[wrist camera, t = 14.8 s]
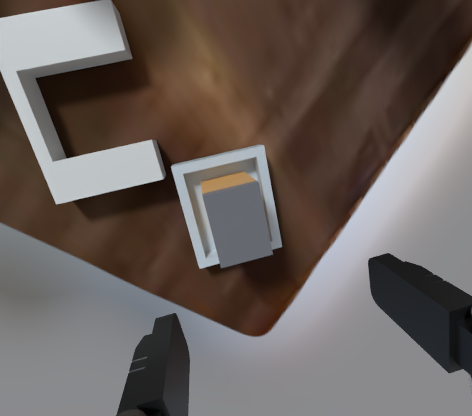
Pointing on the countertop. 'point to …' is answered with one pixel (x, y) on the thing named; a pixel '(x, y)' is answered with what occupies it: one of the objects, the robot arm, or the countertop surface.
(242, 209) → the orange grey block
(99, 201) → the countertop surface
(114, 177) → the bay
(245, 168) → the tray
